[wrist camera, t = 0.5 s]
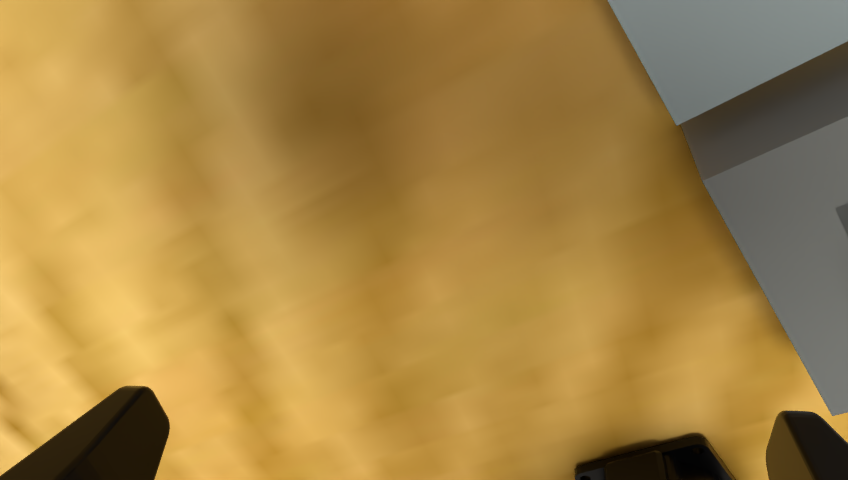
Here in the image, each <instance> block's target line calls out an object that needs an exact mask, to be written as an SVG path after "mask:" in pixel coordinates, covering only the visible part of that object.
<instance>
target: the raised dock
mask: <svg viewBox="0 0 848 480" xmlns="http://www.w3.org/2000/svg"><path fill="white" fill-rule="evenodd" d="M680 125H681V127H682V130H683V132H684V135H685V138H686V140H687V143H688V146H689V148H690V151H691V153H692V156H693V159H694V161H695V164H696V167H697V169H698V172H699V174H700V177H701V180H702V182H703V184H704V186H705V187H706V189H707V191H708V193H709V195H710V196H711V198H712V200H713V202H714V204H715V205H716V207H717V209H718V211H719V213H720V214H721V216H722V218H723V220H724V222H725V223H726V225H727V227H728V229H729V231H730V232H731V234H732V236H733V238H734V240H735V241H736V243H737V245H738V247H739V249H740V250H741V252H742V254H743V256H744V258H745V259H746V261H747V263H748V265H749V267H750V268H751V270H752V272H753V274H754V276H755V277H756V279H757V281H758V283H759V285H760V287H761V288H762V290H763V292H764V294H765V296H766V297H767V299H768V301H769V303H770V305H771V306H772V308H773V310H774V312H775V314H776V315H777V317H778V319H779V321H780V323H781V324H782V326H783V328H784V330H785V332H786V333H787V335H788V337H789V339H790V341H791V342H792V344H793V346H794V348H795V350H796V351H797V353H798V355H799V357H800V359H801V360H802V362H803V364H804V366H805V368H806V369H807V371H808V373H809V375H810V377H811V379H812V380H813V382H814V384H815V386H816V388H817V389H818V391H819V393H820V395H821V397H822V398H823V400H824V402H825V404H826V406H827V407H828V409H829V411H830V413H831V415H832V416H835V415H839V414H843V413H847V412H848V41H847V42H845V43H843V44H841V45H839V46H837V47H835V48H833V49H831V50H829V51H827V52H825V53H823V54H821V55H819V56H817V57H815V58H813V59H811V60H809V61H807V62H805V63H803V64H801V65H799V66H797V67H795V68H793V69H790V70H788V71H786V72H784V73H782V74H780V75H778V76H776V77H774V78H772V79H770V80H768V81H766V82H764V83H762V84H760V85H758V86H756V87H754V88H752V89H750V90H748V91H746V92H744V93H742V94H740V95H738V96H736V97H734V98H732V99H730V100H728V101H726V102H724V103H722V104H720V105H718V106H716V107H714V108H712V109H710V110H708V111H706V112H704V113H702V114H700V115H698V116H696V117H693V118H691V119H689V120H687V121H685V122H683V123H681V124H680Z"/></svg>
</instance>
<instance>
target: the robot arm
mask: <svg viewBox="0 0 848 480" xmlns="http://www.w3.org/2000/svg"><path fill="white" fill-rule="evenodd" d="M169 429H170V424H169V419H168V417H167V415H166V413H165V411H164V410H163V408H162V406H161V404H160V403H159V401H158V399H157V397H156V396H155V394H154V392H153V391H152V390H151V389H150V388H148V387H145V386H124V387H121V388H119V389H118V390H116V391H115V392H114V393H112V394H111V395H109V396H108V397H107V398H105V399H104V400H103V401H101V402H100V403H99V404H97V405H96V406H95V407H93V408H92V409H91V410H89V411H88V412H86V413H85V414H84V415H82V416H81V417H80V418H78V419H77V420H76V421H74V422H73V423H72V424H70V425H69V426H67V427H66V428H65V429H63V430H62V431H61V432H59V433H58V434H57V435H55V436H54V437H53V438H51V439H50V440H49V441H47V442H46V443H44V444H43V445H42V446H40V447H39V448H38V449H36V450H35V451H34V452H32V453H31V454H30V455H28V456H27V457H25V458H24V459H23V460H21V461H20V462H19V463H17V464H16V465H15V466H13V467H12V468H11V469H9V470H8V471H7V472H5V473H4V474H2V475H1V476H0V480H154V479H155V476H156V473H157V470H158V466H159V463H160V460H161V457H162V454H163V451H164V448H165V445H166V442H167V439H168V435H169ZM766 465H767V471H768V476H769V480H848V443H847V442H846V441H845V440H844V439H843V438H842V437H841V436H840V435H839V434H838V433H837V432H836V431H835V430H834V429H833V428H832V427H831V426H830V425H829V424H828V423H827V422H826V421H825V420H824V419H823V418H821V417H820V416H819V415H817V414H815V413H813V412H807V411H782V412H780V413H779V414H778V415H777V417H776V420H775V423H774V427H773V430H772V433H771V436H770V439H769V443H768V446H767V450H766ZM574 472H575V480H735V478H734V477H733V476H732V474H731V473H730V471H729V470H728V469H727V467H726V466H725V465H724V463H723V462H722V460H721V459H720V458H719V456H718V455H717V454H716V452H715V451H714V449H713V448H712V447H711V445H710V444H709V443H708V441H707V440H706V439H705V438H702V437H690V438H686V439H682V440H678V441H675V442H671V443H667V444H663V445H659V446H655V447H651V448H647V449H644V450H640V451H636V452H632V453H628V454H624V455H620V456H617V457H613V458H609V459H605V460H601V461H597V462H593V463H590V464H586V465H582V466H579V467H577V468H576V469H575V471H574Z"/></svg>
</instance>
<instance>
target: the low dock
mask: <svg viewBox="0 0 848 480" xmlns="http://www.w3.org/2000/svg"><path fill="white" fill-rule="evenodd" d="M608 2H609V4H610V6H611V8H612V10H613V11H614V13H615V15H616V17H617V19H618V20H619V22H620V24H621V26H622V28H623V30H624V31H625V33H626V35H627V37H628V39H629V40H630V42H631V44H632V46H633V48H634V50H635V51H636V53H637V55H638V57H639V59H640V60H641V62H642V64H643V66H644V68H645V70H646V71H647V73H648V75H649V77H650V79H651V80H652V82H653V84H654V86H655V88H656V90H657V91H658V93H659V95H660V97H661V99H662V101H663V102H664V104H665V106H666V108H667V110H668V111H669V113H670V115H671V117H672V119H673V121H674V122H675V124H676V126H677V125H679V124H681V123H683V122H685V121H687V120H689V119H691V118H693V117H696V116H698V115H700V114H702V113H704V112H706V111H708V110H710V109H712V108H714V107H716V106H718V105H720V104H722V103H724V102H726V101H728V100H730V99H732V98H734V97H736V96H738V95H740V94H742V93H744V92H746V91H748V90H750V89H752V88H754V87H756V86H758V85H760V84H762V83H764V82H766V81H768V80H770V79H772V78H774V77H776V76H778V75H780V74H782V73H784V72H786V71H788V70H790V69H793V68H795V67H797V66H799V65H801V64H803V63H805V62H807V61H809V60H811V59H813V58H815V57H817V56H819V55H821V54H823V53H825V52H827V51H829V50H831V49H833V48H835V47H837V46H839V45H841V44H843V43H845V42H847V41H848V0H608Z"/></svg>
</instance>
